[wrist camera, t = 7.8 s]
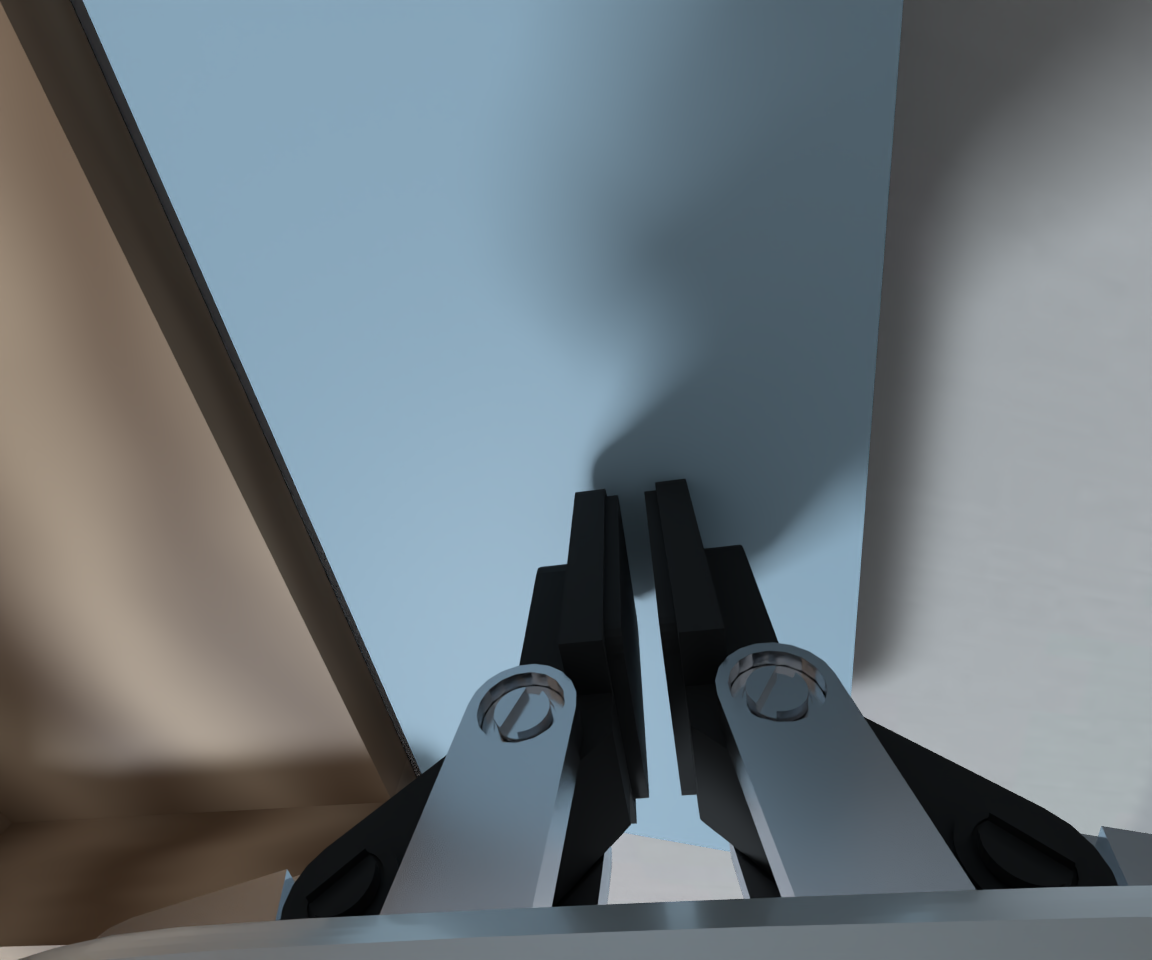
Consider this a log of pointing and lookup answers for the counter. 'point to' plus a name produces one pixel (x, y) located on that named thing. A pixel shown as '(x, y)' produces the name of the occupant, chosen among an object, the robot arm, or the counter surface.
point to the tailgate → (540, 297)
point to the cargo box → (144, 552)
